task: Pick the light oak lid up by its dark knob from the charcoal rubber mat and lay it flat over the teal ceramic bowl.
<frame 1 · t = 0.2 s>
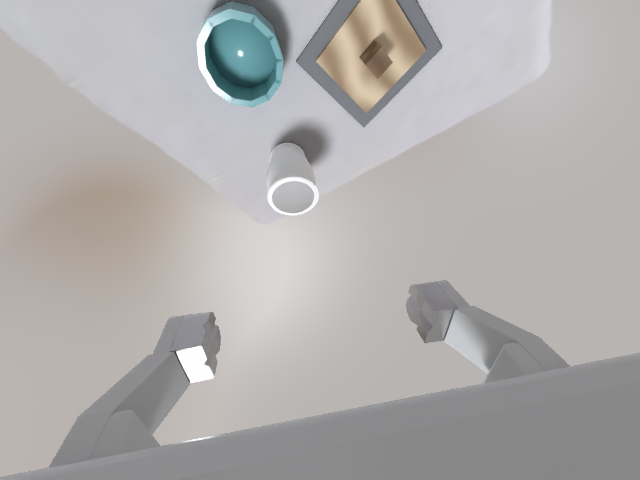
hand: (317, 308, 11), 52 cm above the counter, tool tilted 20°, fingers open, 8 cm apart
mat: (370, 53, 49), on the counter
jar: (287, 157, 63), on the counter
bowl: (243, 52, 46), on the counter
lid: (370, 54, 49), resting on mat
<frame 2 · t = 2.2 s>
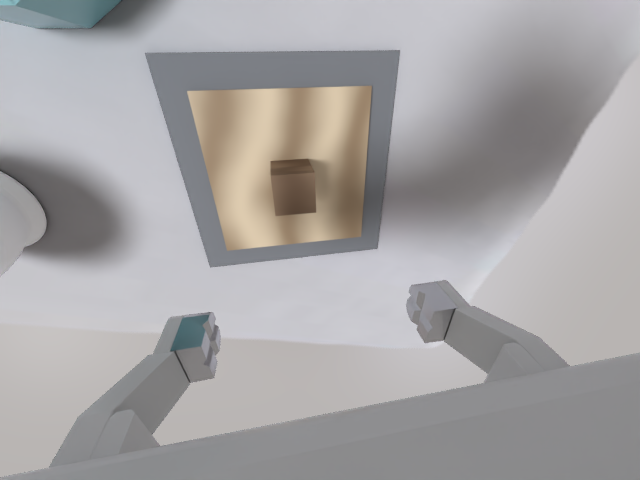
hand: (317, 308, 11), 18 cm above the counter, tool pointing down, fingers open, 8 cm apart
mat: (290, 174, 26), on the counter
lid: (290, 175, 26), resting on mat
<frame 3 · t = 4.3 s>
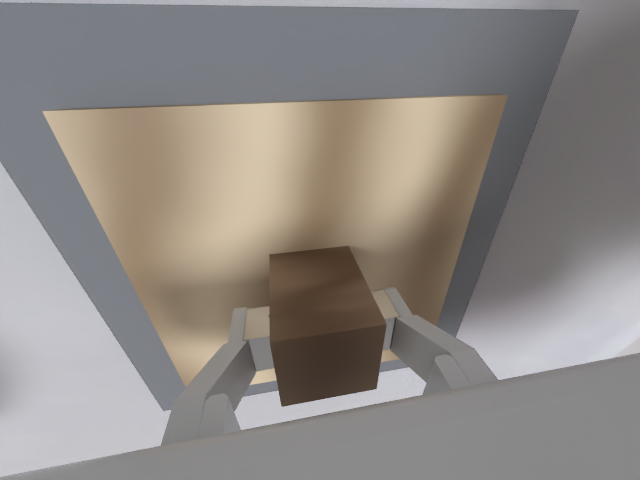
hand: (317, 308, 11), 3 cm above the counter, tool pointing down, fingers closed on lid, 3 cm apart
mat: (307, 264, 13), on the counter
lid: (309, 270, 13), resting on mat, touching gripper
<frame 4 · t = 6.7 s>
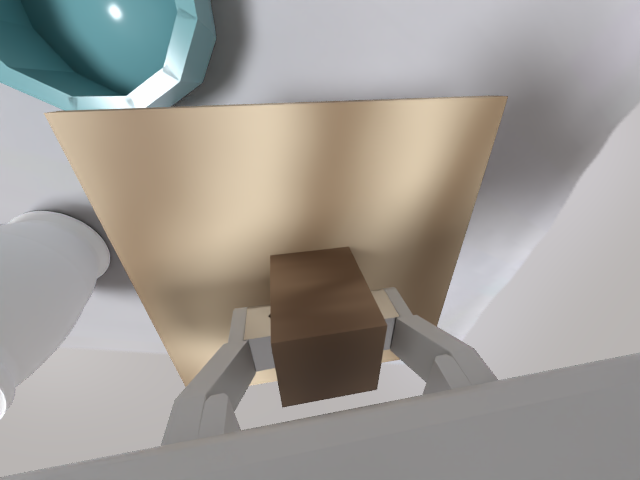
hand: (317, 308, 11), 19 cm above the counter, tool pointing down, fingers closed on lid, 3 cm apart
jar: (64, 246, 27), on the counter
bowl: (116, 5, 18), on the counter
lid: (309, 271, 13), point 16 cm above the counter, touching gripper
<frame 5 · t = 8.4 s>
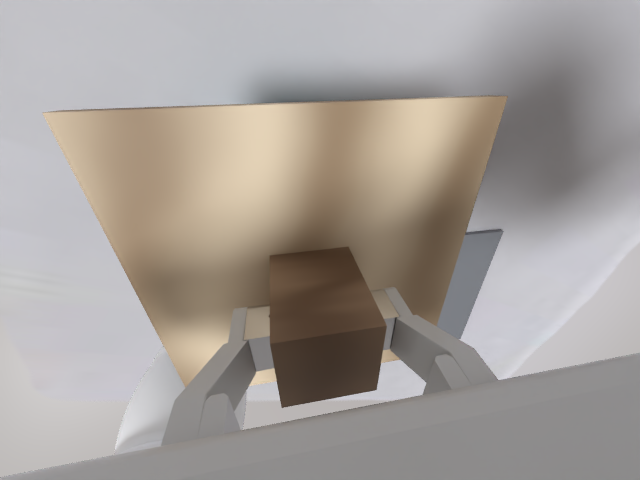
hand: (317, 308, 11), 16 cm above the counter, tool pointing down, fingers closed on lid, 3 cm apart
mat: (410, 299, 36), on the counter
jar: (209, 331, 33), on the counter
lid: (309, 271, 13), point 14 cm above the counter, touching gripper
when the fingers open (11 cm above the counter, at t = 9.6 s): lid drops 1 cm, resting on bowl.
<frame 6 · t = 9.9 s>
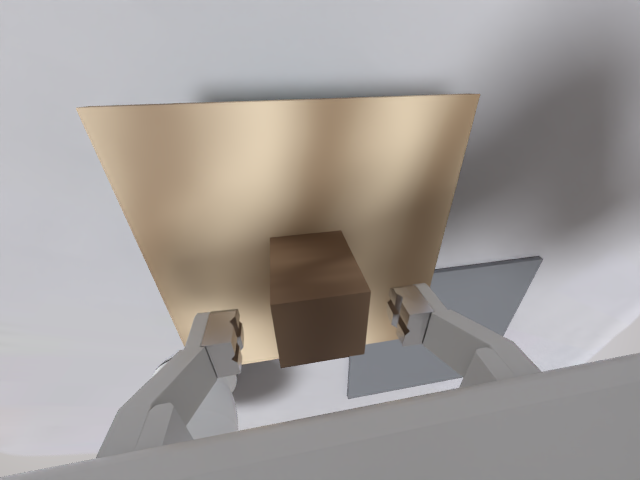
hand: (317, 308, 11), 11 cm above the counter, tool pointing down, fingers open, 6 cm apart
mat: (431, 334, 31), on the counter
jar: (197, 376, 28), on the counter
lid: (305, 254, 14), point 6 cm above the counter, touching bowl
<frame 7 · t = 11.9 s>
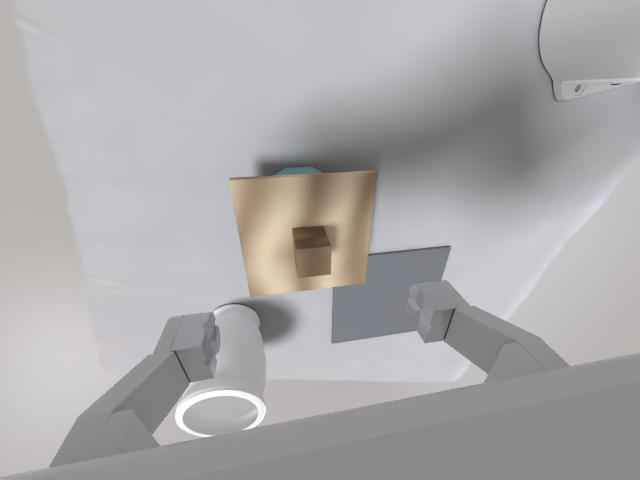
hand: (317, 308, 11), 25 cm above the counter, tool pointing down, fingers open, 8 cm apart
mat: (385, 297, 47), on the counter
jar: (234, 320, 44), on the counter
lid: (307, 236, 31), point 6 cm above the counter, touching bowl
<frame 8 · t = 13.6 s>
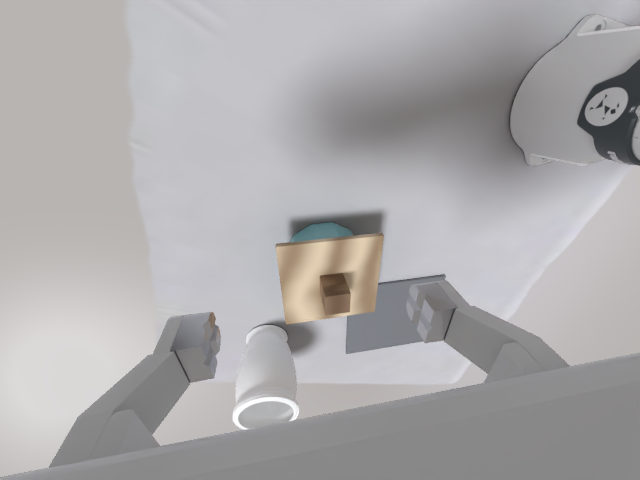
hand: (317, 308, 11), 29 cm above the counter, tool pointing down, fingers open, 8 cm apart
mat: (391, 316, 57), on the counter
jar: (267, 337, 54), on the counter
bowl: (322, 256, 45), on the counter
lid: (330, 279, 40), point 6 cm above the counter, touching bowl
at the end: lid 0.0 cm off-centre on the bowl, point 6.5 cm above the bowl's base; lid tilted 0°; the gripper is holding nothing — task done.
